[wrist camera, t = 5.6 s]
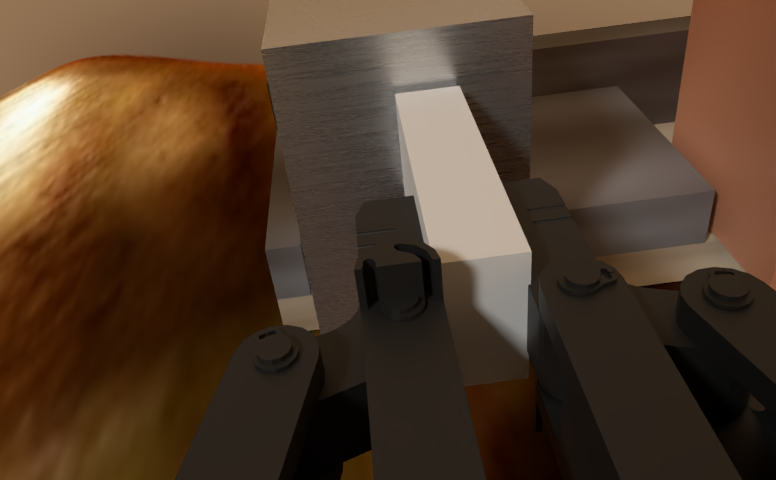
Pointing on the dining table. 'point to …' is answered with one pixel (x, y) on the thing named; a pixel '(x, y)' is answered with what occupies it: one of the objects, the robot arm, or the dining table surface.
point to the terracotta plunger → (734, 124)
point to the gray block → (383, 108)
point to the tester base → (581, 161)
